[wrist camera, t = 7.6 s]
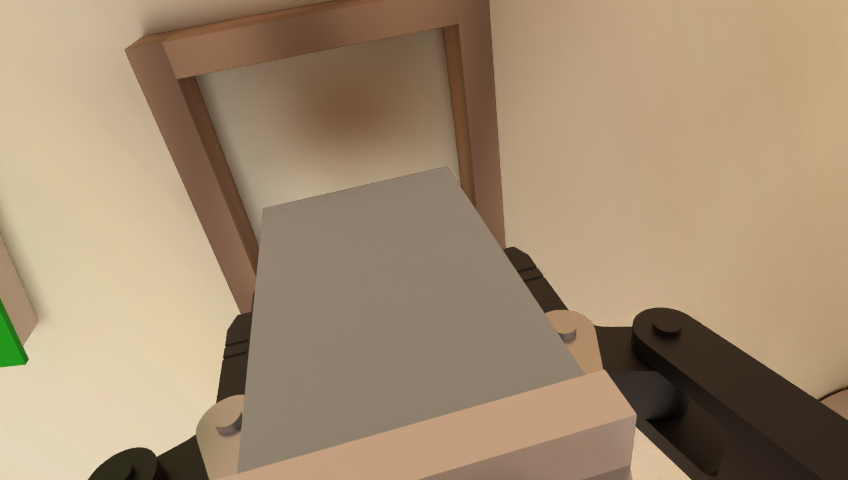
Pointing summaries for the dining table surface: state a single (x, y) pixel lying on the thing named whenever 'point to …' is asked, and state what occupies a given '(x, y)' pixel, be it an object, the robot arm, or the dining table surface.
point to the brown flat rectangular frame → (295, 35)
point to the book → (13, 313)
